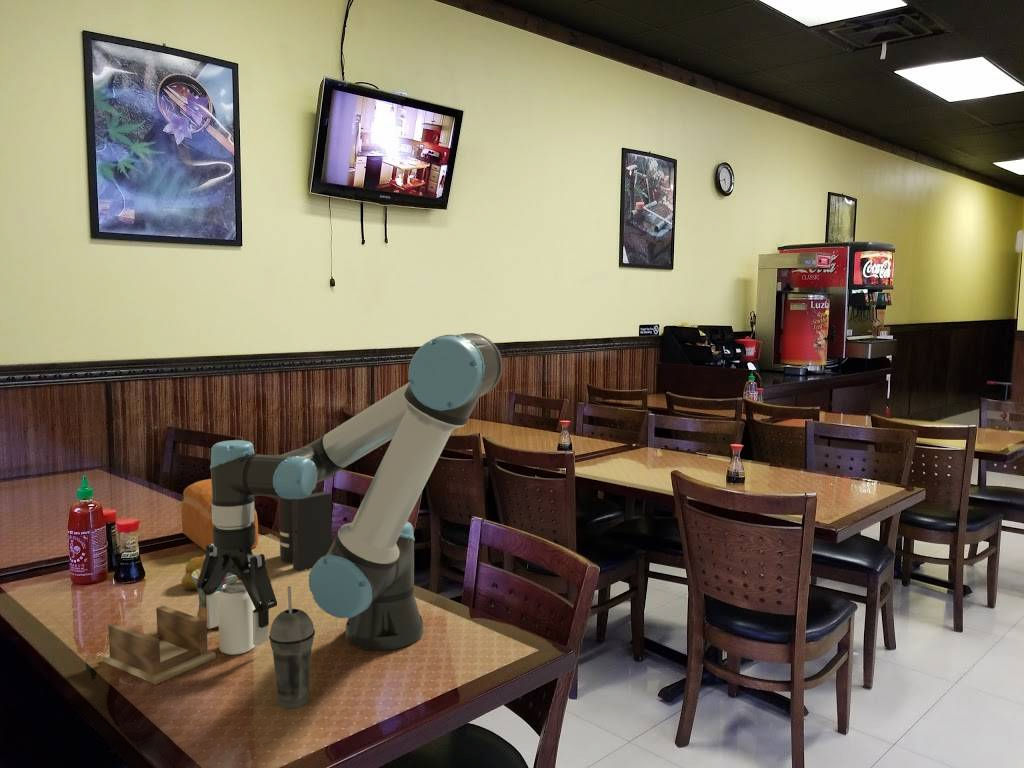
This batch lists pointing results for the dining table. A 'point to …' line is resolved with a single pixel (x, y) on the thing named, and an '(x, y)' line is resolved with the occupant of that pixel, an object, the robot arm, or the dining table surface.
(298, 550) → the light fixture
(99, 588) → the dining table surface
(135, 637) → the caddy
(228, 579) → the mug
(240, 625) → the can
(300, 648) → the beverage cup
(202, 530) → the bread
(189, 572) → the ginger root
